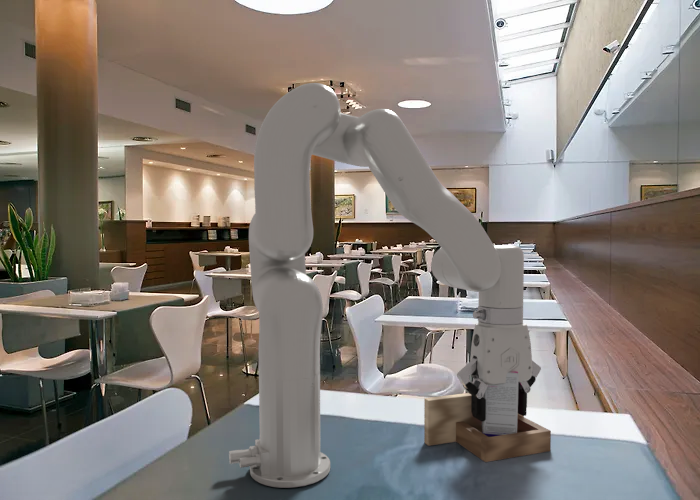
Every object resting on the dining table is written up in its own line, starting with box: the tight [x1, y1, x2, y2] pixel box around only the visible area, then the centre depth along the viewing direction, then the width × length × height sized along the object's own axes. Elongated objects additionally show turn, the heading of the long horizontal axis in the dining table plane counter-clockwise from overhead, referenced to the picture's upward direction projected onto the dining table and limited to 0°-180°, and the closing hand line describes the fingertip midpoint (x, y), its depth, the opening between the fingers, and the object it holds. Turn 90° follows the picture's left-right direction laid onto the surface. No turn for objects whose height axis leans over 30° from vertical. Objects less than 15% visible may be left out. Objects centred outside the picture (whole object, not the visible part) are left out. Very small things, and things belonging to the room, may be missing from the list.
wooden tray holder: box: [423, 392, 552, 463], centre depth 96 cm, size 20×11×8 cm, turn 110°
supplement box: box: [481, 372, 519, 437], centre depth 96 cm, size 6×6×12 cm
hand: (499, 415), depth 96 cm, fingers closed on supplement box, 7 cm apart
